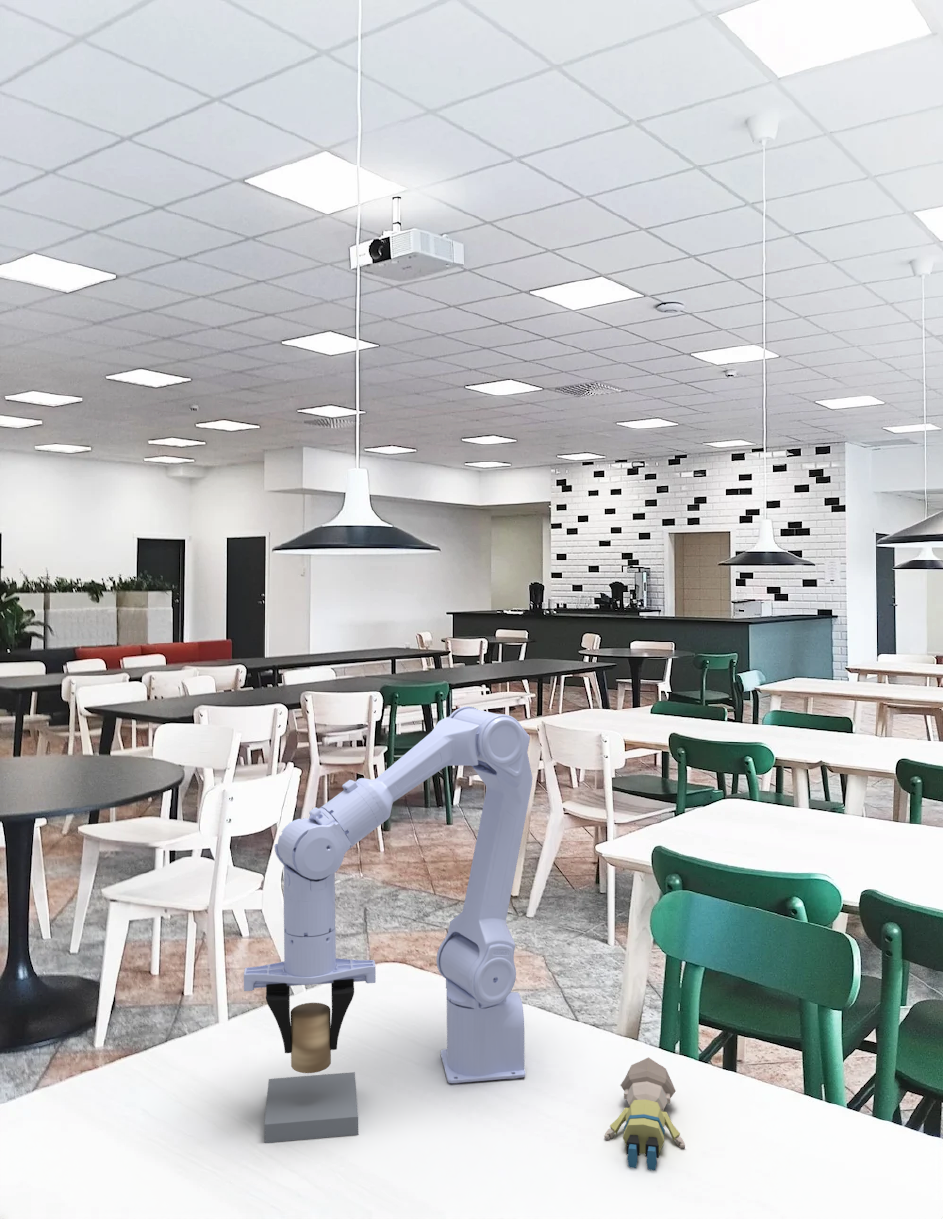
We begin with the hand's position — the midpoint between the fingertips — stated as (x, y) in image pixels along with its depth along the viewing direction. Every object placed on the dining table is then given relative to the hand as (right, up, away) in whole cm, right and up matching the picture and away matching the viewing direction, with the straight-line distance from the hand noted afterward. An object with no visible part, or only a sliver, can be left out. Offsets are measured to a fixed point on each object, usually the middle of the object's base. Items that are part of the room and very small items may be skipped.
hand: (311, 1047), depth 115 cm
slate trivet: (0, -8, 0) cm, 8 cm away
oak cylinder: (0, -2, 0) cm, 2 cm away
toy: (+37, -8, -3) cm, 38 cm away
